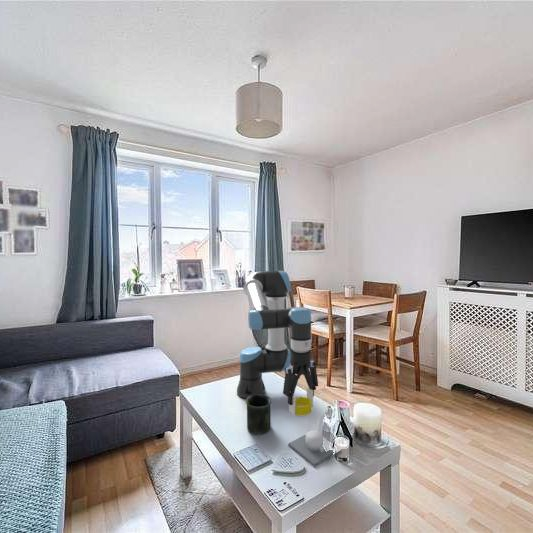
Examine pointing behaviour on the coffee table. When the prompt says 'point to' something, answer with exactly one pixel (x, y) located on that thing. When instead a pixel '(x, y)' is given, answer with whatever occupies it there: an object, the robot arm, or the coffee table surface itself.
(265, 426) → the mug
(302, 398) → the bracelet
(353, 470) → the coffee table surface
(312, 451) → the plate
